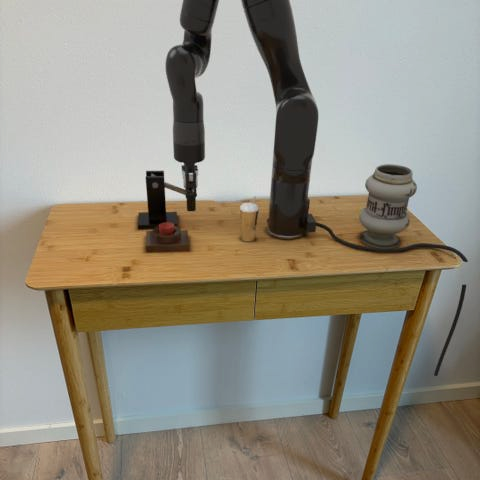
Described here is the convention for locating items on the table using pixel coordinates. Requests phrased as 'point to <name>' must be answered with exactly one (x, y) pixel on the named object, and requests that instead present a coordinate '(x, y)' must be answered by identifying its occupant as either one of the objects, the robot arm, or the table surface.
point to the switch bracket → (155, 203)
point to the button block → (167, 241)
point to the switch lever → (175, 187)
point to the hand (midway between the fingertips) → (190, 204)
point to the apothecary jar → (387, 205)
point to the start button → (166, 228)
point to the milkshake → (248, 220)
